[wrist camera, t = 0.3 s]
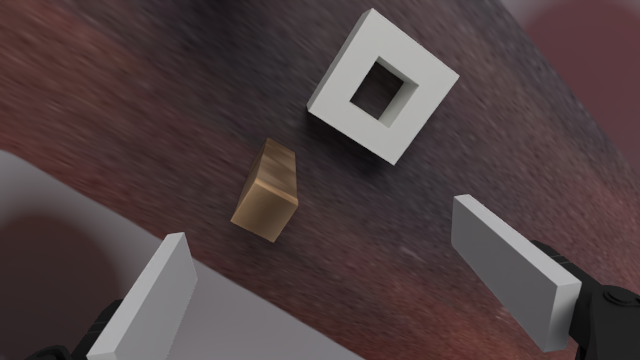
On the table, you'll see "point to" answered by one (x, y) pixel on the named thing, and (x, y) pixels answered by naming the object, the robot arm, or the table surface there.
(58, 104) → the table surface
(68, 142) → the table surface
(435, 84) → the socket block
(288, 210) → the bronze peg
